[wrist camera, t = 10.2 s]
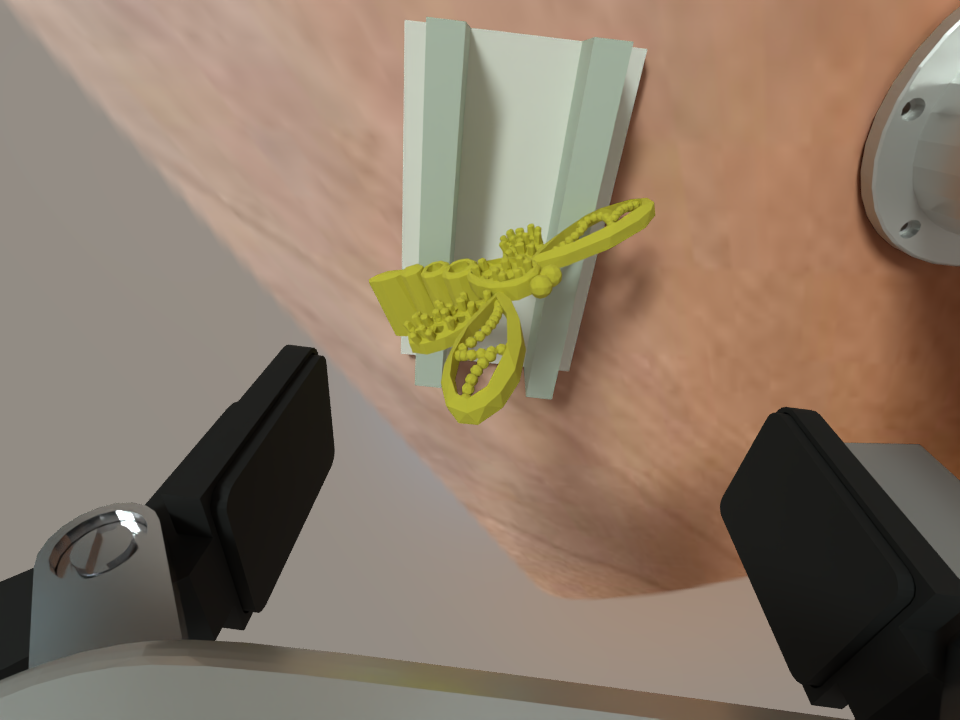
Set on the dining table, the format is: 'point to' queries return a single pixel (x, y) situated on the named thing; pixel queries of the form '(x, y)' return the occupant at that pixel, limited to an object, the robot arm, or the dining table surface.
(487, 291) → the decorative insect
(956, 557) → the perfume bottle
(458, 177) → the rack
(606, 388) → the dining table surface
